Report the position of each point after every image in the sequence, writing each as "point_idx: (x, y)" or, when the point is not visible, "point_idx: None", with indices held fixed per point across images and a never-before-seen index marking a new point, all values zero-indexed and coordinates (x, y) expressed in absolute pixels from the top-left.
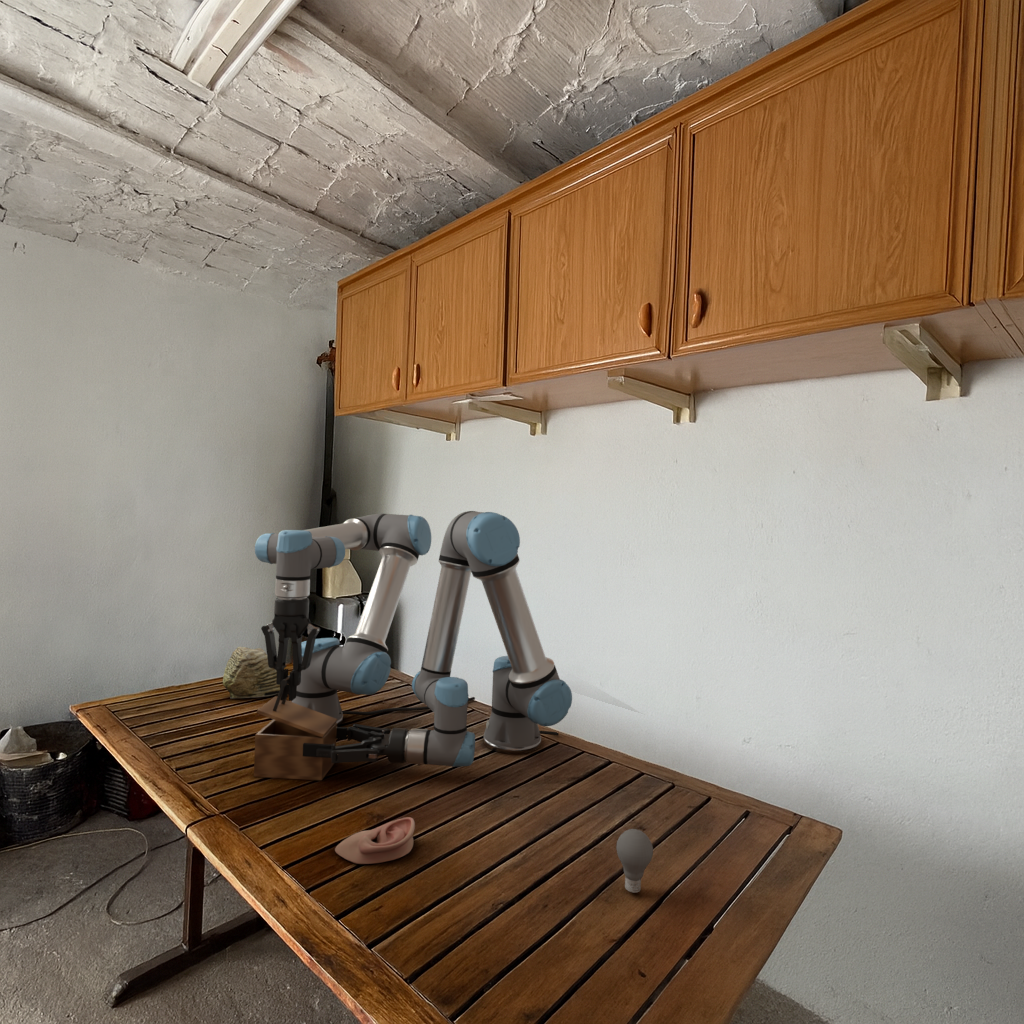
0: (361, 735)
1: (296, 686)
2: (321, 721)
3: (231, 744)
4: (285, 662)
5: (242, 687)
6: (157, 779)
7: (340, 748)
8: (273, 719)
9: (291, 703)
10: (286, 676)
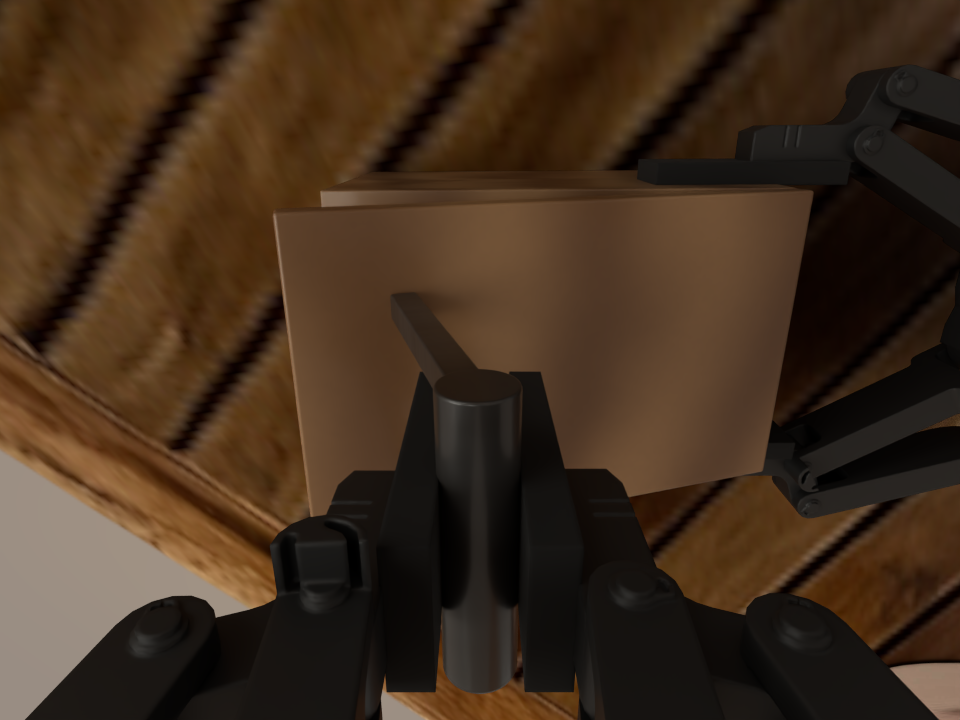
0: (938, 220)
1: (552, 426)
2: (725, 331)
3: (54, 5)
4: (364, 660)
5: None
6: (36, 435)
7: (836, 465)
8: (323, 198)
9: (454, 237)
10: (437, 538)
